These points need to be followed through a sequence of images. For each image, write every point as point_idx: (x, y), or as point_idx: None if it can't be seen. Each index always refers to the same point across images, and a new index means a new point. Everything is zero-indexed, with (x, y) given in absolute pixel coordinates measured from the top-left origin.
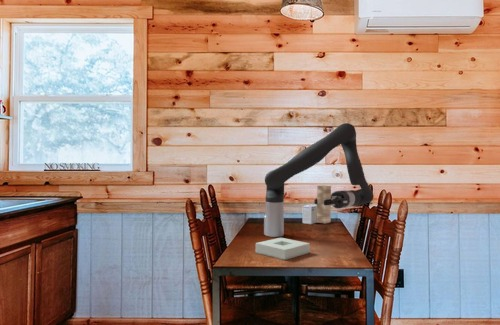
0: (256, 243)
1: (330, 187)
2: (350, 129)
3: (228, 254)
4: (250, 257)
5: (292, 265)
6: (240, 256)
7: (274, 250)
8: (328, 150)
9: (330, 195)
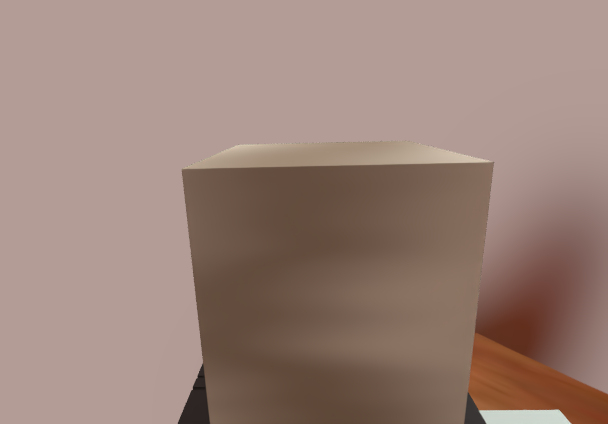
0: (552, 410)
1: (195, 207)
2: None
3: (545, 370)
4: (474, 392)
5: None
6: (501, 379)
7: None
8: None
9: (212, 400)
